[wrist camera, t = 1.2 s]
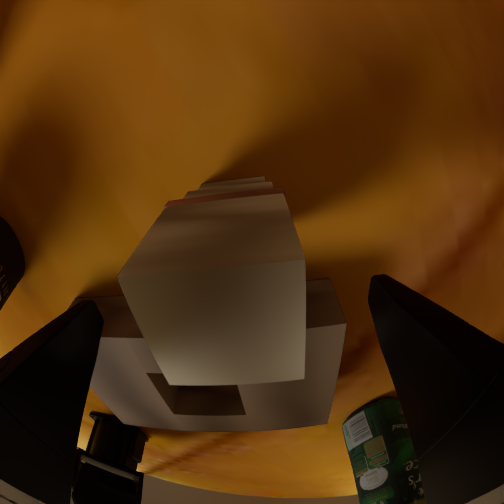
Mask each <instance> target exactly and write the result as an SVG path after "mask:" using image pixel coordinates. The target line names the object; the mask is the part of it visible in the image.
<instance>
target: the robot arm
mask: <svg viewBox="0 0 504 504" xmlns="http://www.w3.org/2000/svg"><path fill="white" fill-rule="evenodd" d="M368 303H369V307H370V311H371V314H372V318H373V322H374V325H375V329H376V333H377V337H378V340H379V344H380V347H381V350H382V353H383V355H384V358H385V361H386V363H387V366H388V369H389V372H390V375H391V377H392V380H393V383H394V386H395V389H396V392H397V395H398V398H399V401H400V404H401V407H402V410H403V414H404V417H405V420H406V424H407V427H408V430H409V434H410V437H411V441H412V444H413V448H414V452H415V456H416V460H417V464H418V468H419V473H420V477H421V481H422V486H423V490H424V495H425V500H426V504H465V503H468V502H469V504H504V344H503V343H501V342H499V341H497V340H495V339H494V338H492V337H490V336H489V335H487V334H485V333H484V332H482V331H480V330H479V329H477V328H476V327H474V326H472V325H469V323H468V322H466V321H464V320H463V319H461V318H459V317H458V316H456V315H455V314H453V313H451V312H450V311H448V310H446V309H445V308H443V307H441V306H440V305H438V304H436V303H435V302H433V301H431V300H429V299H428V298H426V297H424V296H423V295H421V294H419V293H417V292H416V291H414V290H412V289H410V288H409V287H407V286H405V285H403V284H402V283H400V282H398V281H396V280H395V279H393V278H391V277H389V276H388V275H386V274H380V275H374V276H372V278H371V282H370V289H369V295H368ZM103 326H104V319H103V316H102V314H101V312H100V310H99V308H98V306H97V304H96V303H95V301H94V300H92V299H85V300H82V301H80V302H79V303H77V304H76V305H74V306H73V307H71V308H70V309H68V310H67V311H65V312H64V313H63V314H61V315H60V316H58V317H57V318H55V319H54V320H52V321H51V322H50V323H48V324H47V325H45V326H44V327H43V328H41V329H40V330H38V331H37V332H36V333H34V334H33V335H31V336H30V337H29V338H27V339H26V340H25V341H23V342H22V343H21V344H19V345H18V346H16V347H15V348H14V349H13V350H12V351H10V352H8V353H7V354H6V355H4V356H3V357H2V358H0V504H41V502H43V503H46V504H70V499H71V504H141V499H142V487H143V477H144V473H142V472H137V471H136V469H137V464H138V463H140V462H141V460H142V455H143V451H144V446H145V442H148V440H149V439H148V438H147V437H146V436H145V435H144V434H143V433H142V432H141V431H140V430H139V429H138V428H137V427H136V426H135V425H128V424H123V423H122V422H121V421H120V419H119V418H118V417H113V416H107V415H102V414H97V413H92V412H90V414H89V416H90V417H91V418H92V419H93V420H94V421H95V423H94V426H93V429H92V432H91V435H90V438H89V441H88V445H87V448H86V451H84V450H83V449H81V448H79V449H77V443H78V437H79V432H80V426H81V422H82V417H83V412H84V408H85V403H86V399H87V395H88V391H89V387H90V383H91V379H92V375H93V371H94V368H95V364H96V360H97V355H98V350H99V345H100V340H101V335H102V330H103ZM82 460H84V461H86V462H85V463H82V462H81V461H82ZM87 462H88V463H87ZM92 464H93V465H92ZM94 465H95V466H94ZM99 467H100V468H99ZM104 469H105V470H104ZM107 470H108V471H107ZM109 471H110V472H109ZM112 472H113V473H112ZM117 474H118V475H117ZM120 475H121V476H120ZM123 476H124V477H123ZM126 477H127V478H126ZM129 478H130V479H129ZM132 479H133V480H132ZM71 490H73V491H72V496H71Z"/></svg>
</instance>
